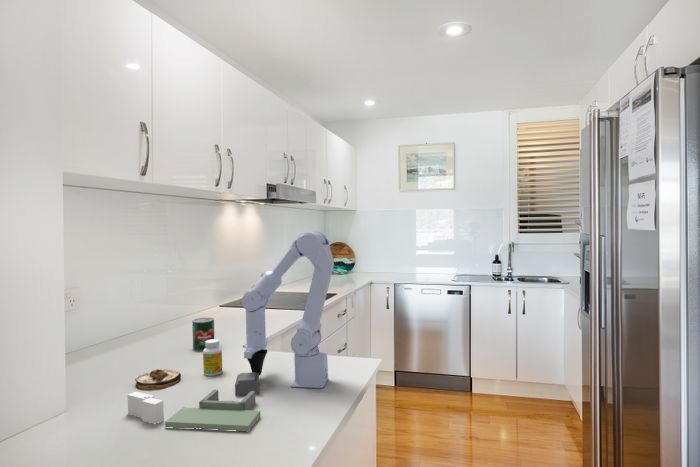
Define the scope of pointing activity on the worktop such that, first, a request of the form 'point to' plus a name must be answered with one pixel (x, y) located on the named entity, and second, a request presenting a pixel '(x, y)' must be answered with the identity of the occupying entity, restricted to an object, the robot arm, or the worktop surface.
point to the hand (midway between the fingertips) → (257, 375)
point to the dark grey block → (246, 383)
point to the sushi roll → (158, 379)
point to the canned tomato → (202, 332)
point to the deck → (217, 414)
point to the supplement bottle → (212, 358)
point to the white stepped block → (145, 407)
